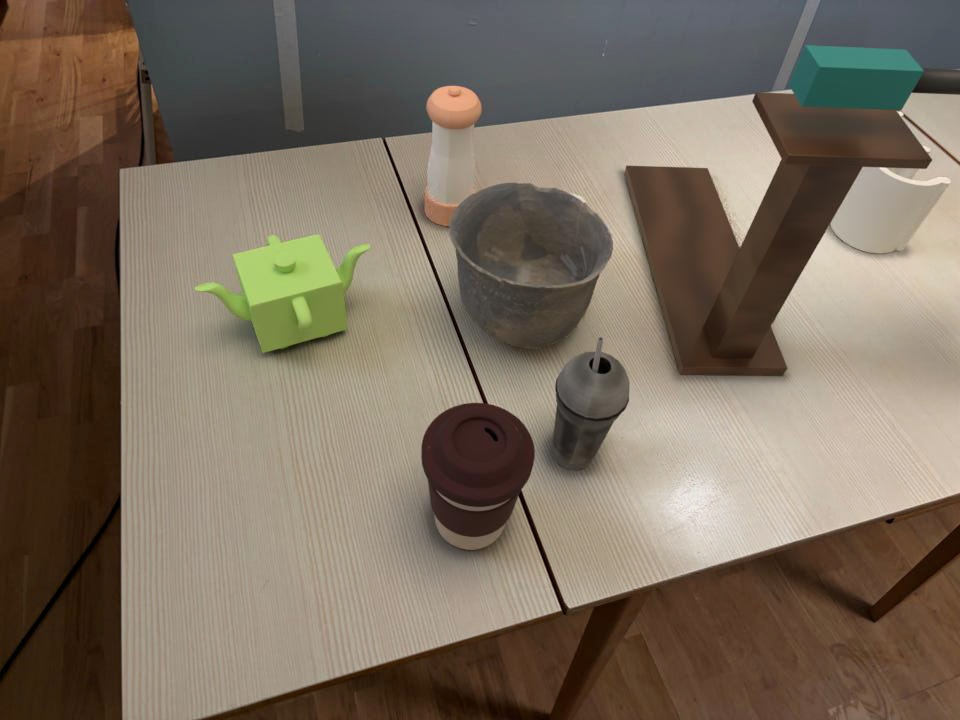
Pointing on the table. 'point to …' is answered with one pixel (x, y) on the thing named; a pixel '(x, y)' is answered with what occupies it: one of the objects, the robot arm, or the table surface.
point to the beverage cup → (587, 405)
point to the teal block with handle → (865, 78)
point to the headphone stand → (756, 230)
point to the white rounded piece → (886, 208)
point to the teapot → (290, 290)
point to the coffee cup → (475, 471)
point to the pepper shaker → (450, 151)
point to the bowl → (528, 261)
